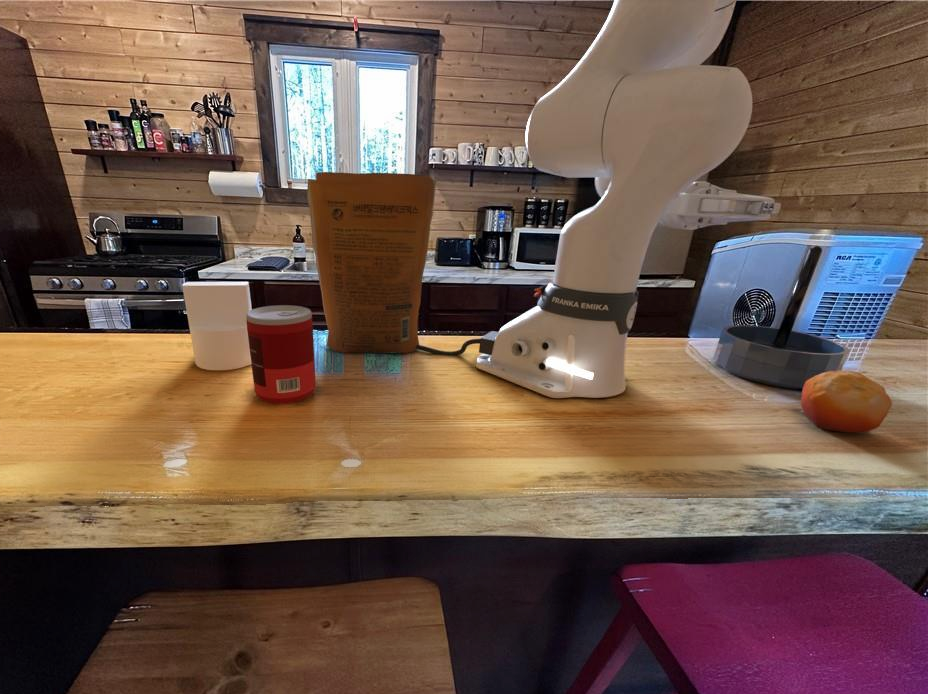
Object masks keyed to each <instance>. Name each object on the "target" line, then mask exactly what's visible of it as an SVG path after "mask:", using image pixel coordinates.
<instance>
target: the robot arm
mask: <svg viewBox="0 0 928 694" xmlns="http://www.w3.org/2000/svg"><path fill="white" fill-rule="evenodd" d="M736 3H737V0H614V1H613V4H612V7H611V9H610V12H609V14H608V16H607V19H606V21H605V22H604V24H603V26H602V28H601V29H600V31H599V33H598V34H597V36H596V37H595V39H594V40H593V42H592V44H591V45H590V46H589V48H588V49H587V51H585V54H584V55H583V56H582V58H581V59H580V60H579V62H577V64H576V65H575V67H574V68H572V70H571V71H570V72H569V73H568V74H567V75H566V76H565V78H563V79H562V81H561V82H559V83H558V84H557V85H556V86H555V87H554V88H552V89H551V90H550V91H549V92H547V93H545V95H543V96H542V97H540V98H539V100H538V101H537V102H536V104H535V105H534V106H533V109H532V110H531V113H530V116H529V117H528V121H527V124H526V129H525V147H526V148H525V149H526V152H527V155H528V158H529V160H530V162H531V163H532V166H533V167H534V168H535V169H536V170H538V171H540V172H544V173H547V174H550V175H554V176H559V177H564V178H570V179H573V178H577V179H579V178H594V180H593V182H594V184H593V185H594V188H595V192H596V195H597V196H598V197H599V198H600V199H599V200H598V201H597V202H596V203H595V204H594V205H593V206H591V207H588V208H585V209H583V210H582V211H580V212H578V213H577V214H575V215H573V216H572V217H571V218H570V219H569V220H568V221H567V222H566V223H565V224H564V226H563V227H562V229H561V231H560V233H559V240H558V245H557V251H556V258H555V265H554V271H553V277H552V280H550V281H548V282H547V283H545V284H543V285H541V286H539V287H538V288H534V291H535V293H534V295H533V297H535V298H537V304H536V306H534V307H532V308H530V309H529V310H527V311H525V312H524V313H522V314H520V315H518V316H517V317H516V318H514V319H512V320H510V321H509V322H507V323H505V324H504V325H503V326H501V328H499V330H498V331H495V330H491V331H489V332H487V333H486V334H485V335H482V336H481V337H479V338H471V339H468V340H466V341H465V342H463V343H462V345H461V348H460V349H458V350H454V351H446V350H440V349H435V348H432V347H429V346H425V345H422V344H419V345H417V346H416V348H417V350H418V351H422V352H426V353H430V354H433V355H439V356H440V355H441V356H456V357H457V356H460V355H462V354H464V353H465V352H466V350H467V348H468V347H469V346H471V345H477V344H479V345H478V346H479V347H478V354H480V355H479V356H478V357H477V359H476V363H475V367H476V368H477V369H478V370H480V371H484V372H486V373H489V374H491V375H493V376H496V377H498V378H501V379H503V380H506V381H508V382H511V383H512V384H516V385H518V386H521V387H523V388H526V389H528V390H531V391H534V392H536V393H538V394H541V395H543V396H545V397H548V398H552V399H566V398H590V399H594V398H595V399H598V398H610V397H614V396H618V395H620V394H623V393H624V392H625V391H626V389H627V382H626V350H627V341H628V333H629V332H630V331H631V329H632V327H633V324H634V321H635V317H636V312H637V308H638V304H639V303H638V299H639V291H638V290H637V289H638V283H639V279H640V275H641V271H642V267H643V265H644V260H645V257H646V254H647V250H648V248H649V244H650V243H651V239H652V236H653V233H654V231H655V230H656V228H663V227H666V228H669V229H675V230H687V231H694V230H698V229H702V228H707V227H711V226H721V225H723V226H724V225H725V226H726V225H727V224H728V223H735V222H736V223H737V222H755V221H763V220H768V219H769V218H770V216H771V215H777V214H779V213H780V210H781V207H782V204H781V203H780V202H775V199H774V198H772V197H769V196H762V195H753V194H746V193H745V194H744V193H738V192H737V190H735V189H729V188H724V187H720V186H717V185H714V184H712V183H710V182H708V181H704V180H702V181H701V180H699V179H700V178H701V177H702V176H704V175H706V174H707V173H710V172H711V171H712V170H714V169H716V168H717V167H718V166H719V165H721V164H722V163H723V162H725V160H727V159H728V158H729V157H730V156H731V155H732V153H733V152H734V151H735V150H736V149H737V147H738V146H739V144H740V143H741V141H742V139H743V138H744V136H745V135H746V132H747V130H748V127H749V125H750V122H751V119H752V114H753V93H752V89H751V85H750V83H749V80H748V79H747V77H746V76H745V74H744V73H743V72H742V71H741V70H740V69H739V68H738V67H733V66H722V65H708V64H707V65H705V64H703V63H704V62H705V61H706V60H708V58H709V57H711V55H712V54H713V53H714V52H715V51H716V50H717V48H718V47H719V45H720V43H721V42H722V40H723V38H724V36H725V34H726V32H727V30H728V27H729V26H730V23H731V20H732V17H733V13H734V11H735V6H736ZM698 180H699V181H698Z"/></svg>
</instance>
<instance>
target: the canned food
mask: <svg viewBox="0 0 928 694" xmlns="http://www.w3.org/2000/svg"><path fill="white" fill-rule="evenodd" d="M246 322H247V332H248V340H249V348H250V356H251V364H250V365H251V372H252V381H253V388H254V389H253V390H254V392H255V395H256V397H257V398H258V399H259V400H260V401H262V402H264V403H267V404H274V405H284V404H293V403H297V402H301V401H303V400H306V399H307V398H309V397H311V396H312V395H313V394H314V392H315V390H316V384H317V381H316V363H315V362H316V361H315V343H314V341H315V340H314V323H313V314H312V310H311V309H310V308H308V307H305V306H301V305H289V304H282V305H281V304H280V305H278V304H277V305H276V304H275V305H266V306H261V307H260V306H259V307H256V308H252V310H250V311H249V312H247V313H246Z"/></svg>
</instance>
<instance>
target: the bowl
mask: <svg viewBox="0 0 928 694" xmlns="http://www.w3.org/2000/svg"><path fill="white" fill-rule="evenodd" d="M779 328H780V327H771V326H763V325H749V324H748V325H747V324H735V325H728V326H724V327H723V329H721V333H720V336H719V339H718V342H717V345H716V348H715V352H714V355H713V357H712V358H713V360H714V362H715V363H716V364H718V365H720V366H721V368H722V369H724V370H725V371H727V372H728V373H731V374H733V375H734V376H738V377H740V378H743V379H746V380H749V381H753V382H756V383H760V384H763V385H764V384H765V385H769V386H774V387H778V388H779V387H780V388H786V389H794V390H795V389H796V390H803V387H804V384H805V382H806V381H807V380H808V379H811V378H812V377H814V376H816V375H819V374H821V373H825V372H829V371H843V368H844V366H845V363H846V361H847V359H848V357H849V355H850V349H849V347H847V346H845V345H844V344H842V343H840V342H837V341H835V340H833V339H832V340H831V339H829V338H825V337H822V336H818V335H816V334H810V333H805V332H801V331H797V330H792V331H791V333H790V336H789V339H788V341H787V344H786V346H785V349H780V348H774V347H772V346H773V344H774V341H775V338H776V336H777V333H778V330H779Z"/></svg>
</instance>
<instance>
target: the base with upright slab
mask: <svg viewBox="0 0 928 694" xmlns="http://www.w3.org/2000/svg"><path fill="white" fill-rule="evenodd" d="M249 283H250V282H249V281H186V282H184V283H182V284H181V286H182V292H183V299H184V303H185V304H184V305H185V309H186V315H187V321H188V322H187V323H188V327H189V333H190V338H191V339H190V340H191V345H192V351H193V356H194V363H195V366H197V368H199V369H202V370H207V371H230V370H237V369H242V368H244V367H248V366H250V365H251V356H250V348H249V340H248V332H247V322H246V313H247V312H249V311H250V310H253V308H252V300H251V291H250V284H249Z"/></svg>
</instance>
